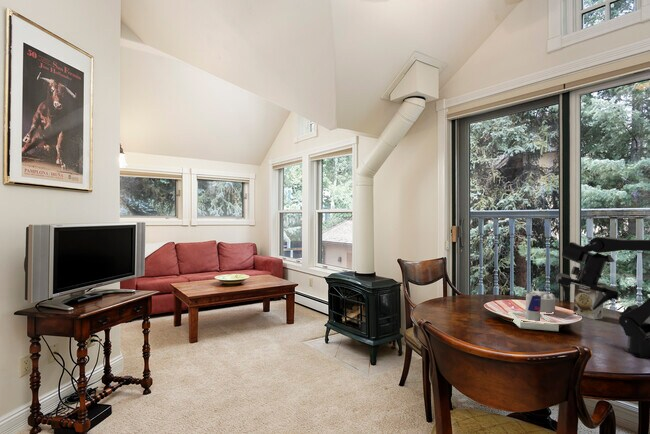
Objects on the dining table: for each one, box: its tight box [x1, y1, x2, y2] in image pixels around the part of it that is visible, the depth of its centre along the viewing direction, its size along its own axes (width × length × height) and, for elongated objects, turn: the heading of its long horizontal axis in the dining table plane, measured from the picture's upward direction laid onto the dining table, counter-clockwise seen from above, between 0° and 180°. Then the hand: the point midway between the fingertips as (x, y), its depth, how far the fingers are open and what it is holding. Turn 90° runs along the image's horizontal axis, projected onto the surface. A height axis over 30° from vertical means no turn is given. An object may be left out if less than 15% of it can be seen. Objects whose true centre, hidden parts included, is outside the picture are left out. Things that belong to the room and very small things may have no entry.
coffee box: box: [572, 278, 606, 320], centre depth 152 cm, size 9×6×16 cm
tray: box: [507, 311, 560, 332], centre depth 141 cm, size 14×14×2 cm
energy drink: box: [524, 292, 541, 321], centre depth 140 cm, size 5×5×12 cm
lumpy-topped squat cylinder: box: [529, 290, 556, 313], centre depth 159 cm, size 10×13×9 cm
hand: (578, 305), depth 129 cm, fingers open, 9 cm apart
